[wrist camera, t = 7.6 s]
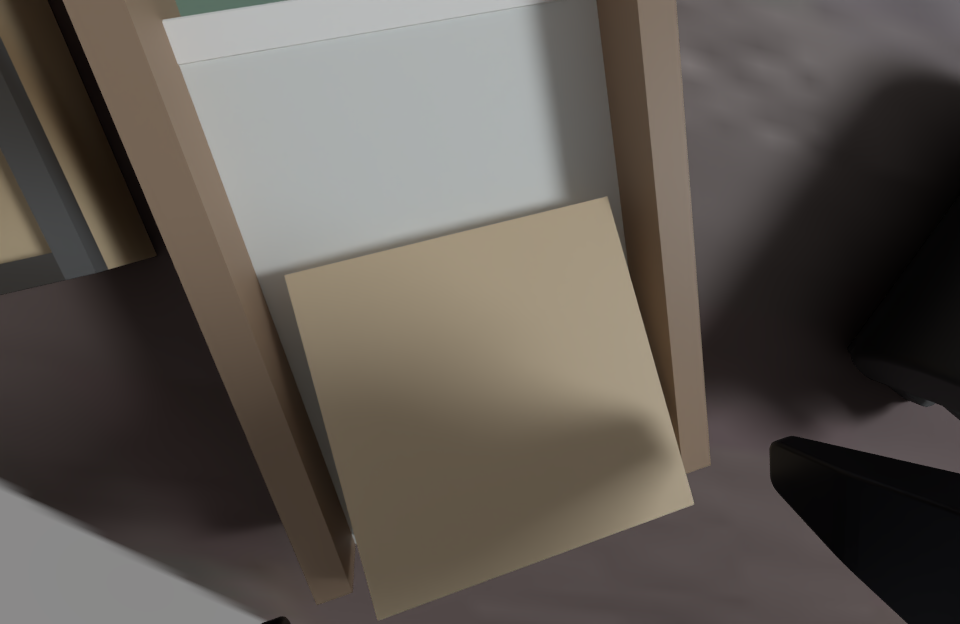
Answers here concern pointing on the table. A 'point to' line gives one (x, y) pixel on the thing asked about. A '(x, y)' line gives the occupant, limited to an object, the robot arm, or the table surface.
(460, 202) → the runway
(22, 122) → the grey framed beige square
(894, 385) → the end cap
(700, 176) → the table surface
